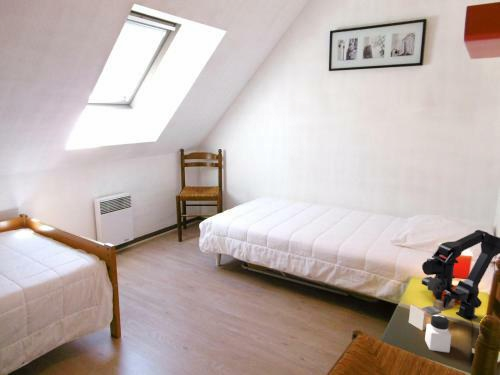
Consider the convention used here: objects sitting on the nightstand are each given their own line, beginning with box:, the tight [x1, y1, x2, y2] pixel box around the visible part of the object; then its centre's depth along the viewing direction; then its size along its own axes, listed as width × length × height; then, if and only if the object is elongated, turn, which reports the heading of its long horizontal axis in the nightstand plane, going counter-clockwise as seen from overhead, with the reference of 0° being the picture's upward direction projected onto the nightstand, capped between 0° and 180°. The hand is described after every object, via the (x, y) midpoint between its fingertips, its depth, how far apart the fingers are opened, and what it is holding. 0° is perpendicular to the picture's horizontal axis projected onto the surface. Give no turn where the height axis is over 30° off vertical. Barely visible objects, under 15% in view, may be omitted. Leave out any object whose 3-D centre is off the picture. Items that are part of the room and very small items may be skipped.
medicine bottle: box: [424, 314, 453, 353], centre depth 141 cm, size 7×7×12 cm
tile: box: [408, 304, 428, 331], centre depth 156 cm, size 2×7×8 cm, turn 24°
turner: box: [421, 297, 456, 317], centre depth 161 cm, size 16×5×4 cm, turn 114°
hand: (441, 306), depth 162 cm, fingers closed on turner, 3 cm apart
